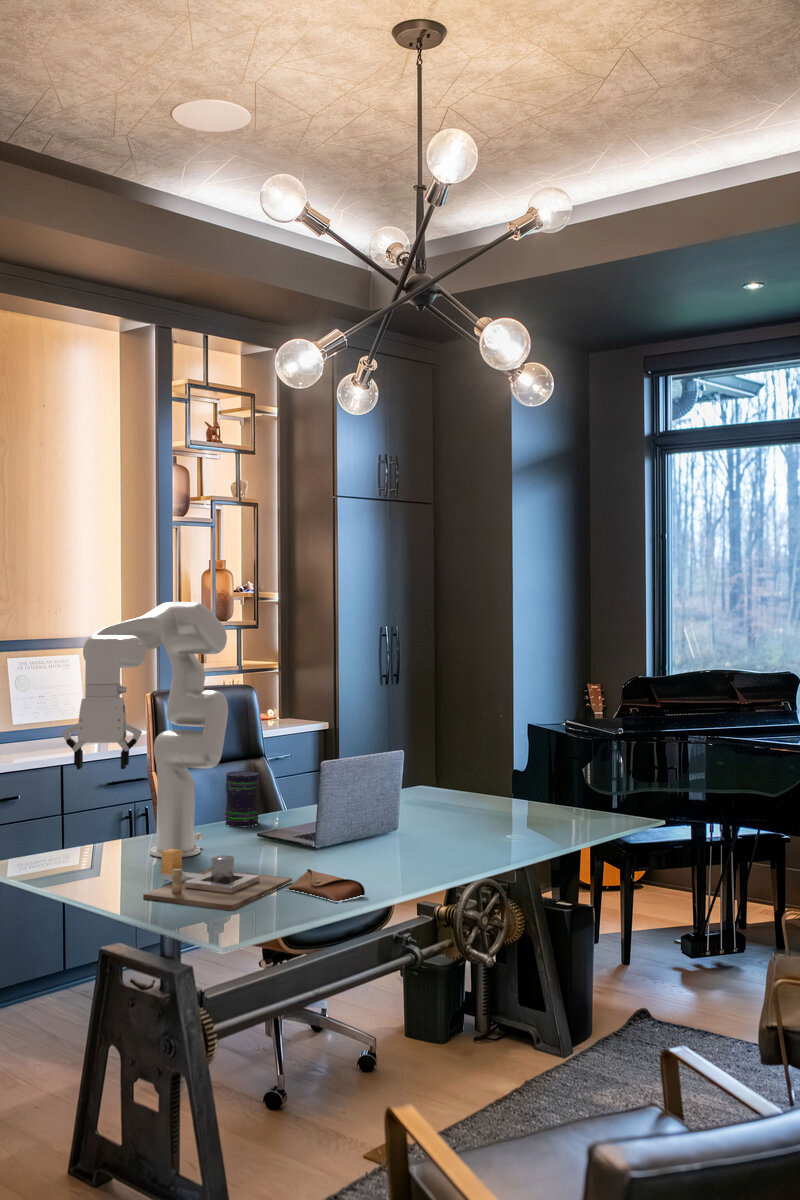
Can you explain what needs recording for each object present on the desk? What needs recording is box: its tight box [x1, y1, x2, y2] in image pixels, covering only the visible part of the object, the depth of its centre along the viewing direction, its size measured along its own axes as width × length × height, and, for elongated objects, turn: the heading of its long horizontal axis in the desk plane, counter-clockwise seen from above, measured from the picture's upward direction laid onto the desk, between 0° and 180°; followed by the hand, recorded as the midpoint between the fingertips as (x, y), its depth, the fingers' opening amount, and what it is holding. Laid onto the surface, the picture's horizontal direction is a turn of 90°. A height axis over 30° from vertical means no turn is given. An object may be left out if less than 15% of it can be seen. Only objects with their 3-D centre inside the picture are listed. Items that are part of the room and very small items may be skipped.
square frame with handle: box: [160, 849, 260, 893], centre depth 238 cm, size 21×12×6 cm, turn 68°
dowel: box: [171, 868, 183, 894], centre depth 229 cm, size 2×2×5 cm
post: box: [210, 855, 235, 884], centre depth 236 cm, size 5×5×6 cm
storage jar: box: [224, 770, 260, 827], centre depth 314 cm, size 10×10×15 cm
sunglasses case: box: [286, 868, 366, 901], centre depth 234 cm, size 18×7×7 cm
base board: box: [142, 868, 293, 911], centre depth 235 cm, size 26×22×1 cm
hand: (101, 768), depth 237 cm, fingers open, 9 cm apart
